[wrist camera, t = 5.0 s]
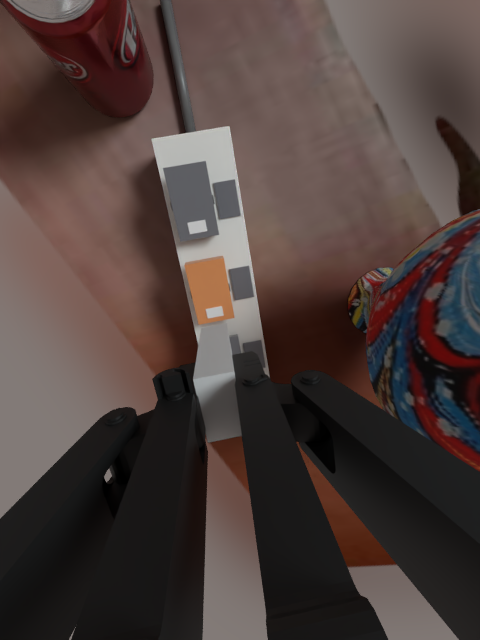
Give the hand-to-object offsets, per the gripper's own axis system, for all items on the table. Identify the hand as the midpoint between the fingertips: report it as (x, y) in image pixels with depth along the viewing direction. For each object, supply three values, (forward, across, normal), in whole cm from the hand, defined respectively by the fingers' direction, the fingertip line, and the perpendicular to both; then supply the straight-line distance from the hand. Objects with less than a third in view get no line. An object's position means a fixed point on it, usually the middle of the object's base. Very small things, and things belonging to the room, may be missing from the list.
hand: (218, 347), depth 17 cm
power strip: (+17, +1, +8) cm, 19 cm away
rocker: (+12, 0, +10) cm, 15 cm away
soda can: (+17, -5, +22) cm, 29 cm away
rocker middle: (+11, 0, +2) cm, 12 cm away
